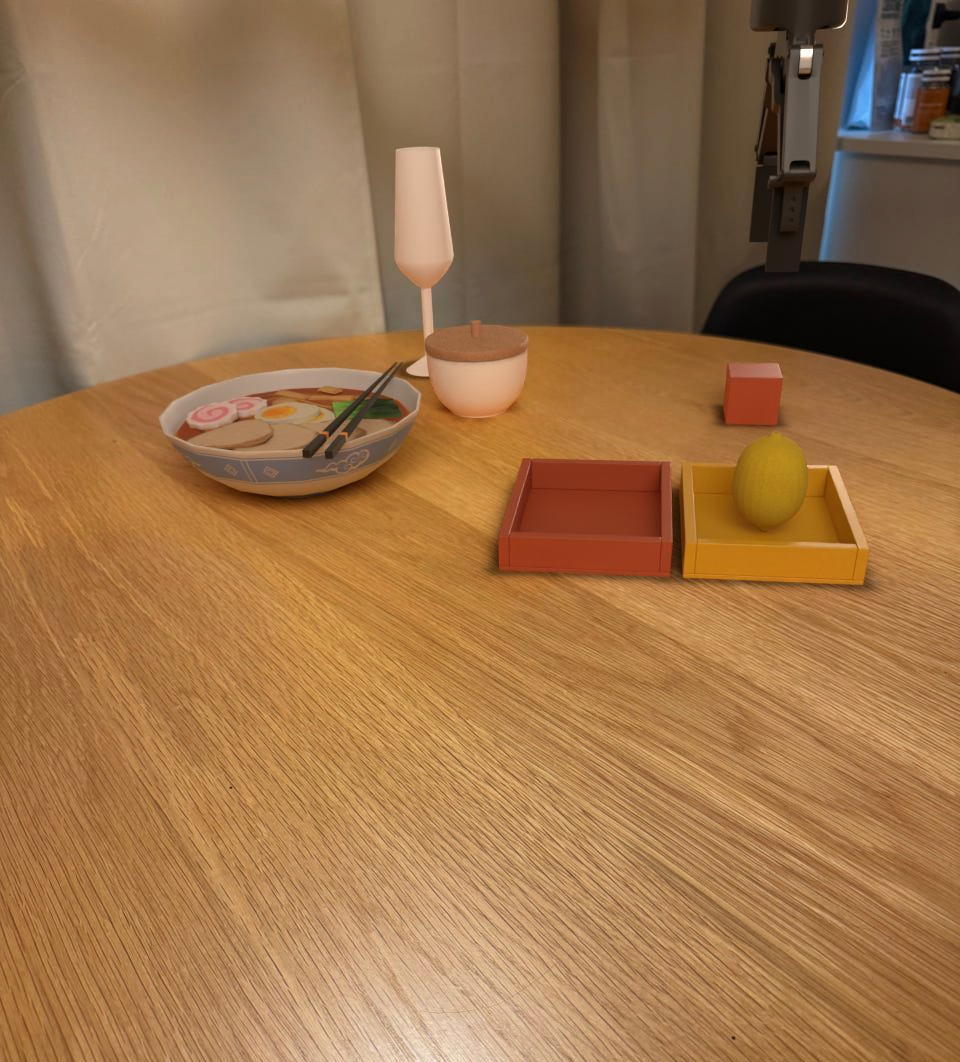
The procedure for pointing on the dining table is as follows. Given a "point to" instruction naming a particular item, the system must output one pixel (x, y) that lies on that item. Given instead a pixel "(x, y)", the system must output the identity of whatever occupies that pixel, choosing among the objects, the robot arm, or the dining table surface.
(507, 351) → the lidded sugar bowl
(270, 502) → the dining table surface
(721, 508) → the yellow tray
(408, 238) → the champagne flute
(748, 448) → the lemon
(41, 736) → the dining table surface
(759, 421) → the block
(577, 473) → the terracotta tray
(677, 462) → the dining table surface
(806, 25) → the robot arm
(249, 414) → the ramen bowl
